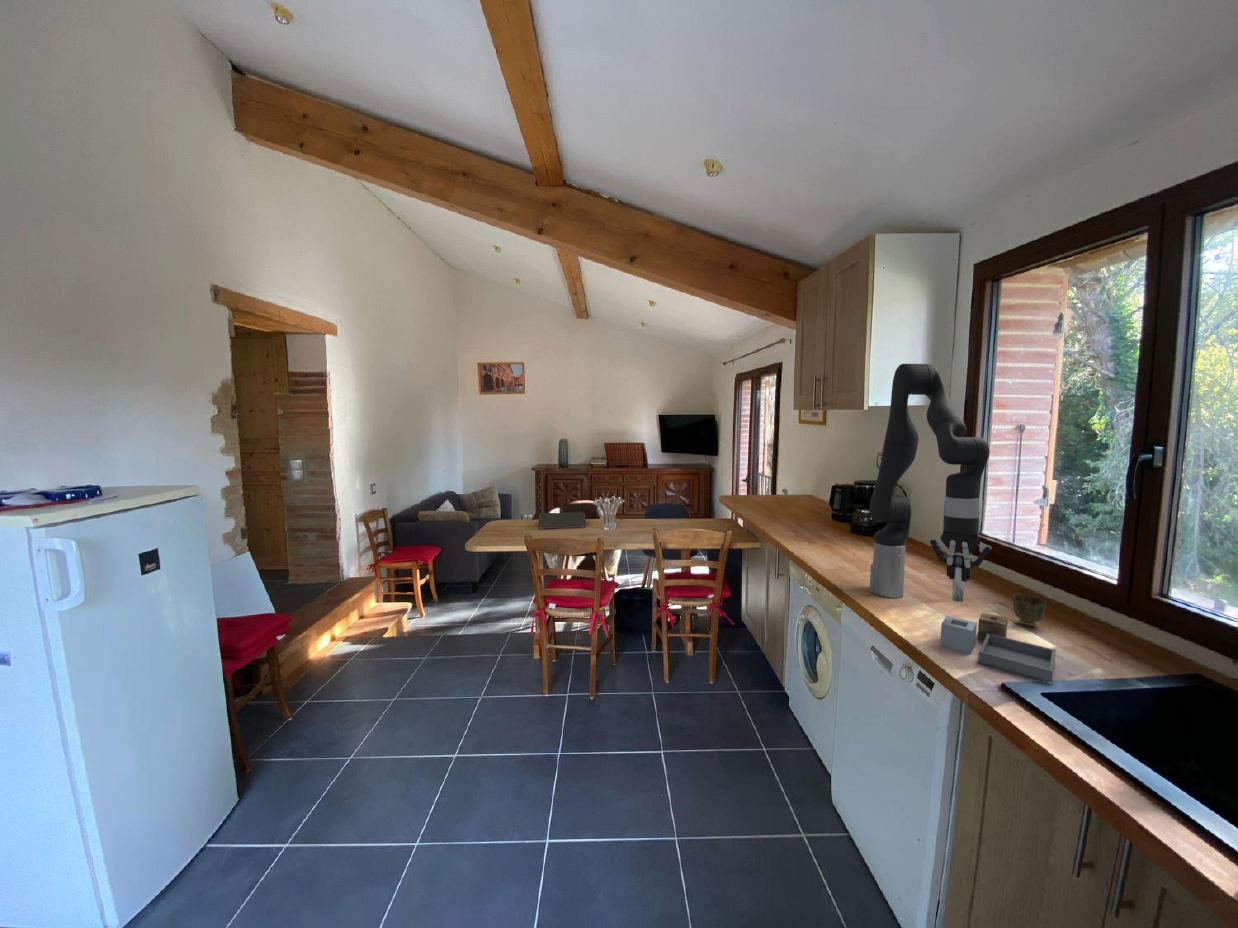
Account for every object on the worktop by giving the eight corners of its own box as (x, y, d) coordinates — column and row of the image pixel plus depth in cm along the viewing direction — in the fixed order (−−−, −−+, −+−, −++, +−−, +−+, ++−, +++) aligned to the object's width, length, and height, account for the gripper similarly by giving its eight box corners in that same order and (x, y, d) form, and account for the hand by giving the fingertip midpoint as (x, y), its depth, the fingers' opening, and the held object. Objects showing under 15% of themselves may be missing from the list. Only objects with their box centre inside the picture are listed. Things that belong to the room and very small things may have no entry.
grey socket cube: (940, 645, 126) (941, 623, 126) (945, 636, 131) (946, 615, 130) (970, 653, 122) (972, 630, 121) (975, 644, 126) (976, 622, 126)
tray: (978, 663, 117) (979, 651, 117) (986, 644, 127) (987, 633, 126) (1051, 684, 108) (1052, 671, 108) (1054, 661, 118) (1055, 649, 117)
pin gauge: (951, 600, 128) (953, 555, 127) (953, 597, 129) (954, 553, 128) (962, 602, 126) (964, 557, 125) (963, 599, 128) (965, 555, 127)
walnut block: (977, 640, 129) (978, 618, 128) (980, 633, 133) (982, 612, 132) (1003, 647, 125) (1005, 624, 125) (1006, 639, 129) (1007, 618, 128)
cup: (1041, 622, 139) (1043, 595, 138) (1047, 633, 132) (1050, 604, 132) (1008, 617, 142) (1010, 591, 142) (1013, 627, 136) (1015, 599, 135)
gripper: (926, 513, 128) (924, 577, 129) (993, 519, 118) (989, 589, 120) (932, 509, 133) (930, 571, 135) (996, 515, 124) (993, 581, 125)
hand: (958, 579), depth 127 cm, fingers closed on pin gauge, 2 cm apart
